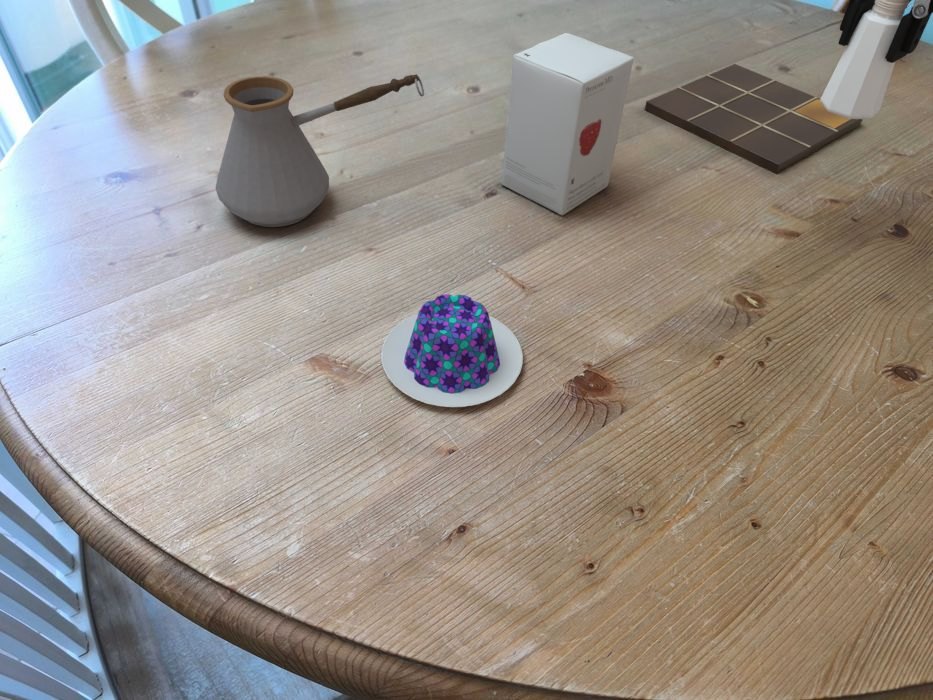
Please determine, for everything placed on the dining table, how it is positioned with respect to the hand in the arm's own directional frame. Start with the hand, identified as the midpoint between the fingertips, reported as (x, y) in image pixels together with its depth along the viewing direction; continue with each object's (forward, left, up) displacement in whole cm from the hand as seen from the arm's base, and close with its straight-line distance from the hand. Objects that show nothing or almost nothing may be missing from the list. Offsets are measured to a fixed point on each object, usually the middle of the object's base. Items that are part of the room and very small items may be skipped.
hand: (873, 47), depth 68 cm
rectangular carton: (+21, +16, -19) cm, 33 cm away
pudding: (+7, +43, -19) cm, 48 cm away
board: (+17, -17, -19) cm, 31 cm away
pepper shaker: (0, 0, -6) cm, 6 cm away
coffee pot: (+33, +39, -19) cm, 55 cm away
